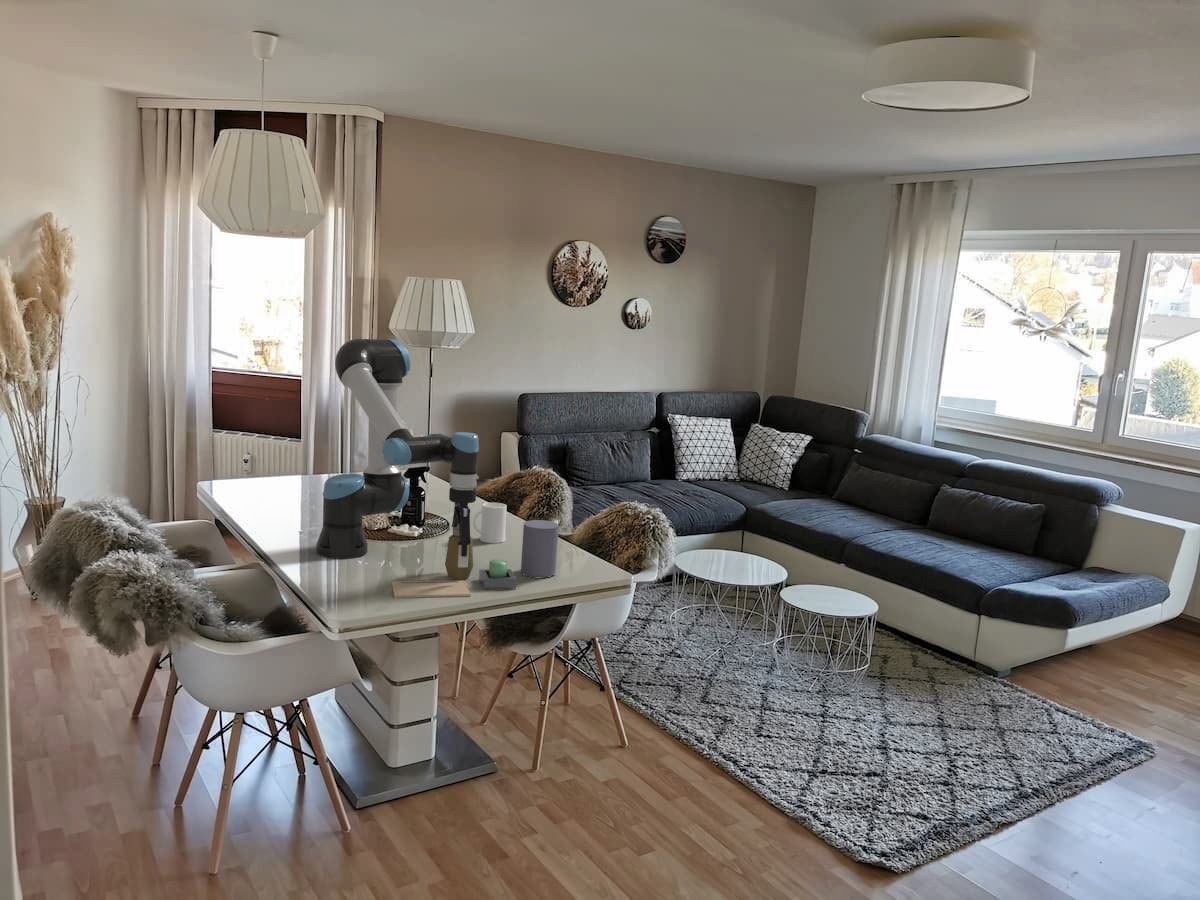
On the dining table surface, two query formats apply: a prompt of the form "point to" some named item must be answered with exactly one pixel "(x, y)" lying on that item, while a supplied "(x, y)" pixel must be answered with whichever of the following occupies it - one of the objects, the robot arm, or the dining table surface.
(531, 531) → the container
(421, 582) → the sketch pad
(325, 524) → the robot arm
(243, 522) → the dining table surface
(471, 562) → the squeeze bottle
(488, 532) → the mug
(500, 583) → the button housing
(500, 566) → the button
